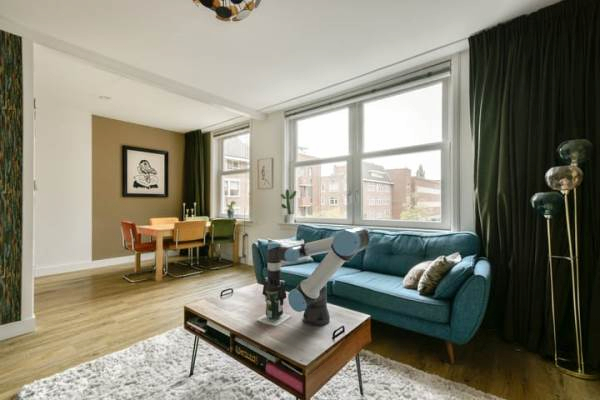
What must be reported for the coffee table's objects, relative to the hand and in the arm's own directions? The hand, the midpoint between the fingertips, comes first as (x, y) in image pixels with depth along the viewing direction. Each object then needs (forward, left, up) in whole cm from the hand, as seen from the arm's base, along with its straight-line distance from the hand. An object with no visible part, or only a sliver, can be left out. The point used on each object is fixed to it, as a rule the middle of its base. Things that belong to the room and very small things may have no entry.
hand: (274, 309), depth 156 cm
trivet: (0, 0, -6) cm, 6 cm away
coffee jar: (0, 0, -4) cm, 4 cm away
